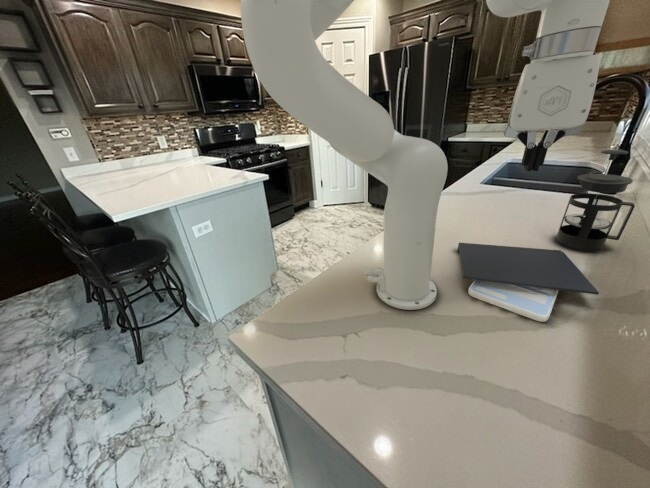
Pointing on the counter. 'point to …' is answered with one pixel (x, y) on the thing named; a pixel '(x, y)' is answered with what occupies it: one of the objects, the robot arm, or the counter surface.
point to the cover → (523, 268)
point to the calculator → (516, 298)
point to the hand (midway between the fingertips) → (530, 169)
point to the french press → (594, 211)
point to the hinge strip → (507, 246)
